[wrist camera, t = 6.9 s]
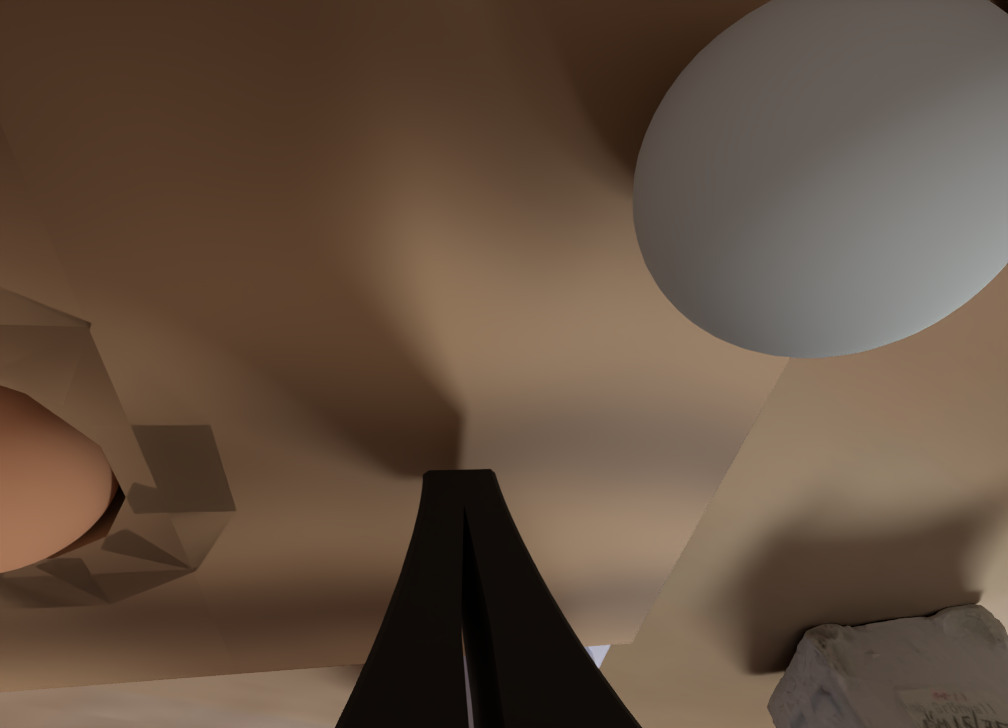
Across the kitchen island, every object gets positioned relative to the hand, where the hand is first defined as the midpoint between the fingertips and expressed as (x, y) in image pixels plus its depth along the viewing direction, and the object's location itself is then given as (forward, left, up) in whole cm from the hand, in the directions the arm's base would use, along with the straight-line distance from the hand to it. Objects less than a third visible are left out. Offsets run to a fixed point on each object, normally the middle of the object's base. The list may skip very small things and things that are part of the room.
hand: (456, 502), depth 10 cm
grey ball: (+7, -4, +1) cm, 8 cm away
